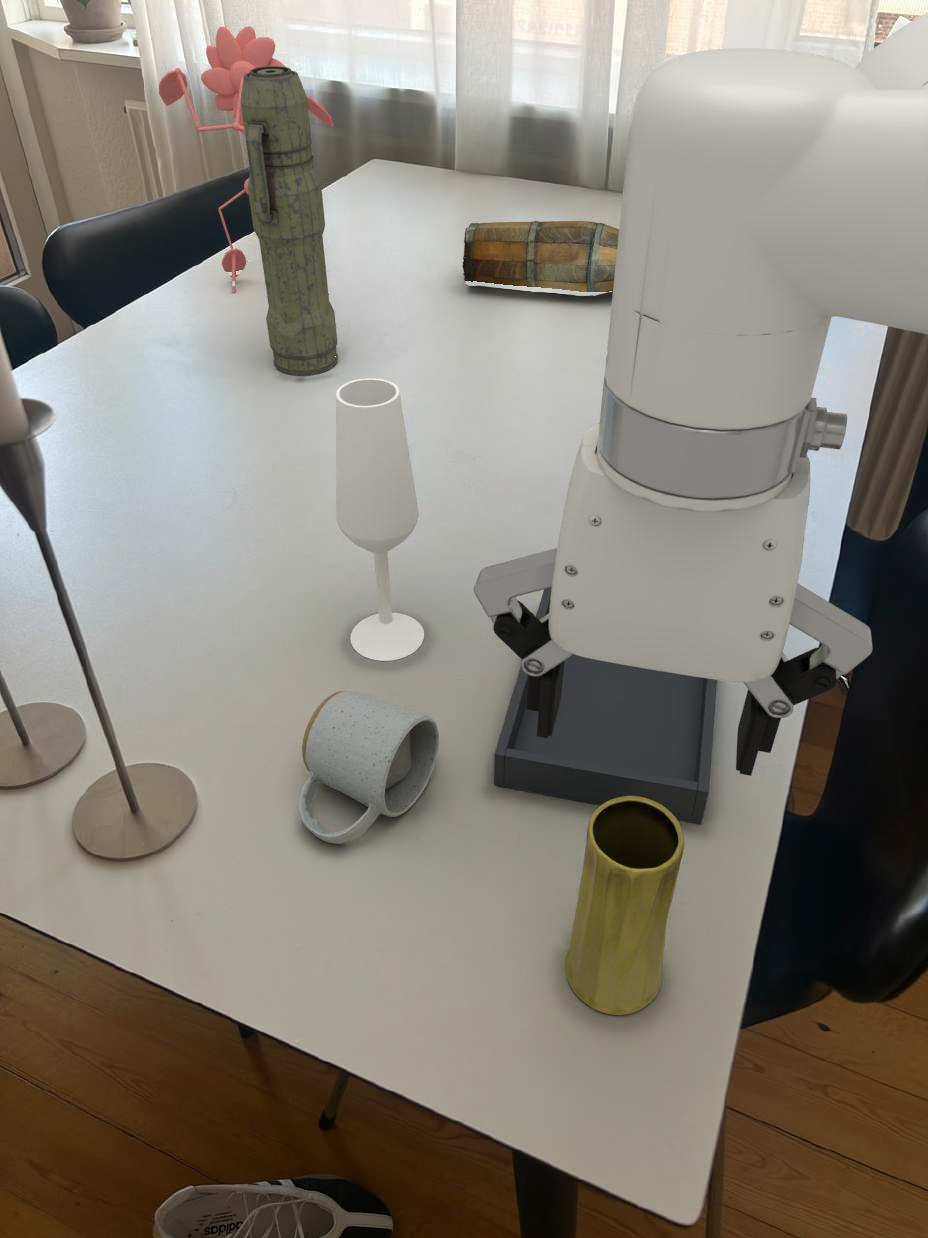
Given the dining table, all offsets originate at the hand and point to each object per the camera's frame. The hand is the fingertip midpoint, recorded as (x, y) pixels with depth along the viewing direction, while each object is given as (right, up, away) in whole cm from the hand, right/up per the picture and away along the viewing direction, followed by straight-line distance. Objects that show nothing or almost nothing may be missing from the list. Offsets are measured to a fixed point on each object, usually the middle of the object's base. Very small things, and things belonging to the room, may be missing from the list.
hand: (644, 735), depth 48 cm
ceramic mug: (-16, -8, +25) cm, 31 cm away
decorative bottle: (+13, +55, +100) cm, 115 cm away
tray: (+4, -1, +32) cm, 33 cm away
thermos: (-30, +41, +84) cm, 98 cm away
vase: (+1, -17, +14) cm, 22 cm away
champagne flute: (-16, +4, +40) cm, 43 cm away
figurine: (-39, +60, +107) cm, 129 cm away
